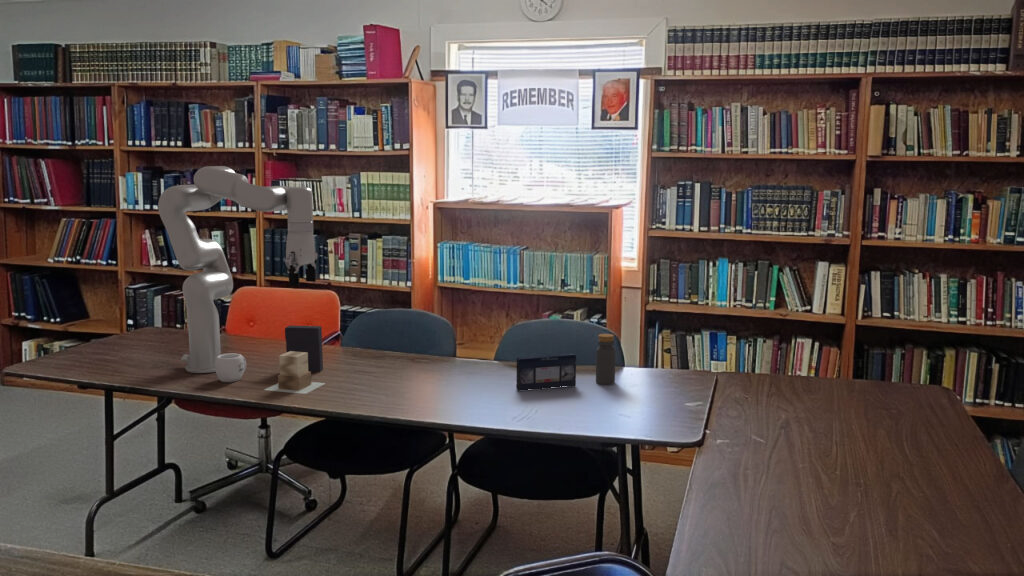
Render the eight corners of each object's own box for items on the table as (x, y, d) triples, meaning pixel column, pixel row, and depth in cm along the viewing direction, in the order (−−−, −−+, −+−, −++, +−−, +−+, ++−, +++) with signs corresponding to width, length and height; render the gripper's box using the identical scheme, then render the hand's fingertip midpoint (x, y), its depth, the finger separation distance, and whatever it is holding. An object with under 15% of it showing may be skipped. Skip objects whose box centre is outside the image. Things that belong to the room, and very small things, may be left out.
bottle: (592, 383, 264) (593, 335, 261) (600, 379, 269) (600, 332, 266) (610, 386, 261) (611, 337, 258) (617, 381, 266) (618, 334, 264)
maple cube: (280, 375, 255) (279, 355, 254) (290, 370, 261) (290, 351, 260) (298, 376, 253) (297, 357, 252) (308, 371, 259) (307, 352, 258)
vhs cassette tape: (518, 391, 255) (518, 359, 253) (515, 389, 258) (515, 356, 256) (576, 387, 260) (577, 355, 258) (573, 384, 263) (573, 353, 261)
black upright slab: (323, 370, 278) (322, 325, 276) (319, 374, 274) (318, 328, 271) (291, 369, 279) (289, 324, 277) (286, 373, 275) (284, 327, 273)
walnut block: (278, 388, 255) (277, 375, 254) (291, 382, 262) (290, 369, 261) (299, 390, 253) (298, 377, 252) (311, 384, 260) (310, 371, 259)
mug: (232, 385, 261) (231, 360, 260) (210, 382, 264) (208, 357, 263) (257, 375, 272) (256, 351, 271) (235, 373, 275) (234, 349, 274)
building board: (263, 391, 254) (263, 389, 254) (285, 381, 265) (285, 379, 265) (305, 395, 250) (305, 393, 250) (325, 385, 261) (325, 383, 261)
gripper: (304, 225, 269) (306, 279, 272) (274, 230, 253) (276, 287, 256) (325, 226, 267) (327, 280, 270) (296, 231, 251) (298, 288, 253)
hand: (302, 283), depth 263 cm, fingers open, 9 cm apart
